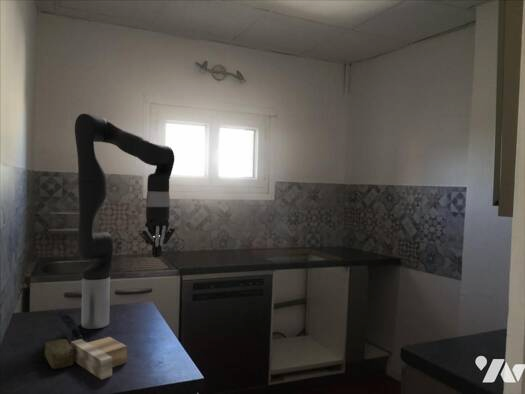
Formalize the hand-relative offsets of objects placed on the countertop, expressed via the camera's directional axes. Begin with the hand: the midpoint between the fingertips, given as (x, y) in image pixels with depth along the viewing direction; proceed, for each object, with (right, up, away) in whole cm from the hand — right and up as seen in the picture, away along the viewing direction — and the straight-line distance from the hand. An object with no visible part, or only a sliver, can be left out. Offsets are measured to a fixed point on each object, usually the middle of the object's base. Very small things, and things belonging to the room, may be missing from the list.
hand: (156, 257), depth 135 cm
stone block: (-23, -27, -19) cm, 40 cm away
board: (-13, -27, -22) cm, 37 cm away
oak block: (-10, -28, -18) cm, 34 cm away
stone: (-26, -27, -7) cm, 38 cm away
